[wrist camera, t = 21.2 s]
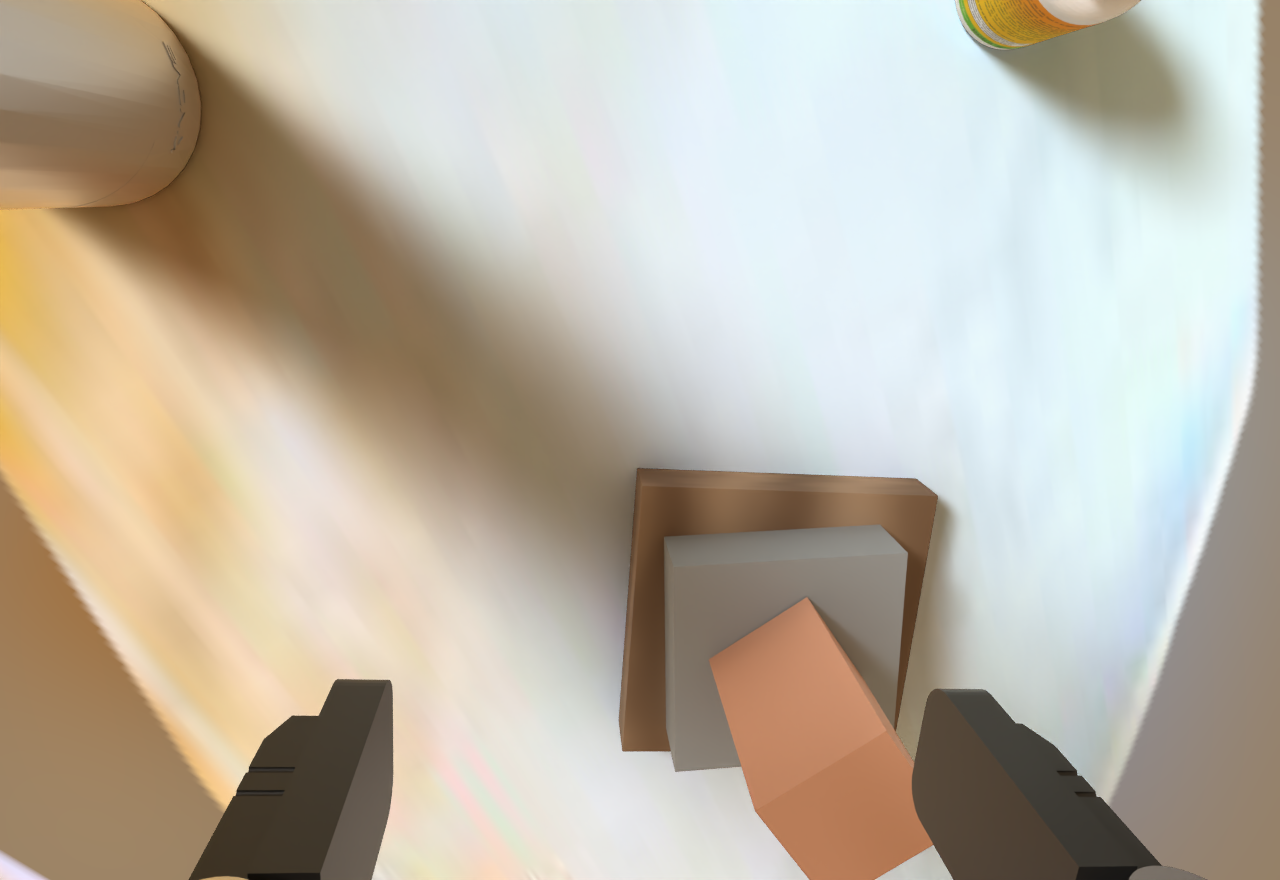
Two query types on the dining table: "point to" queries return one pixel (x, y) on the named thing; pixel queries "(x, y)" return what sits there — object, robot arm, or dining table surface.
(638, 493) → the walnut base block
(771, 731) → the terracotta block
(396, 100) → the dining table surface
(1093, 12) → the supplement bottle
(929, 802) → the robot arm
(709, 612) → the slate top block
